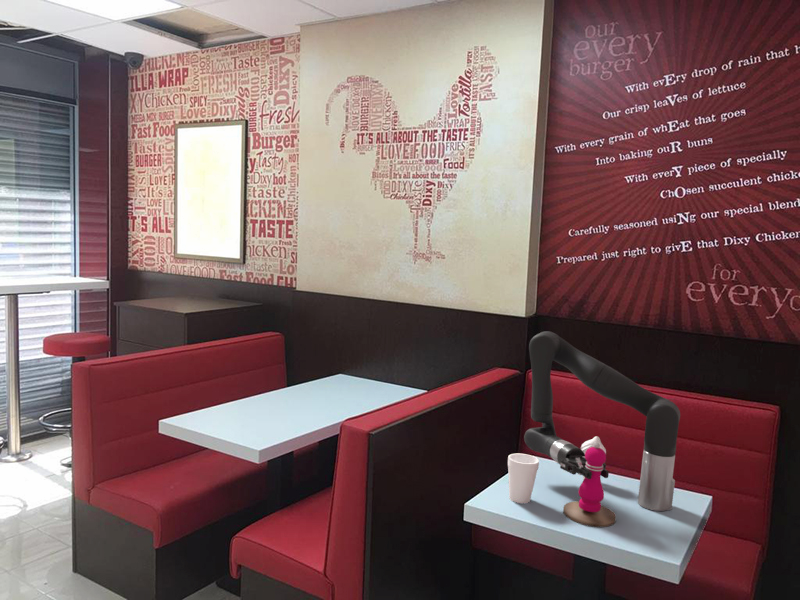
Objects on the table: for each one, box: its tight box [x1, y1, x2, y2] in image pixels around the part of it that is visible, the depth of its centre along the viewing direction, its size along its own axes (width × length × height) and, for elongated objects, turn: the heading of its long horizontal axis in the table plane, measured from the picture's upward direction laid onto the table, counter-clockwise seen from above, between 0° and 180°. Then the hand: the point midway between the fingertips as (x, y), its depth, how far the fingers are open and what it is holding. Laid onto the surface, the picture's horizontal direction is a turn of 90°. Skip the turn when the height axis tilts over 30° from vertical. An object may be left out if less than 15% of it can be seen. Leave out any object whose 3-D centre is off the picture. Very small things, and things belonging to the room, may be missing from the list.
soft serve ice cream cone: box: [580, 436, 607, 480], centre depth 227 cm, size 8×8×16 cm
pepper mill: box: [578, 442, 607, 512], centre depth 198 cm, size 7×7×20 cm
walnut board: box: [562, 500, 617, 528], centre depth 200 cm, size 15×15×1 cm
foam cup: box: [507, 452, 540, 504], centre depth 207 cm, size 10×9×13 cm
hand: (598, 475), depth 196 cm, fingers open, 5 cm apart
